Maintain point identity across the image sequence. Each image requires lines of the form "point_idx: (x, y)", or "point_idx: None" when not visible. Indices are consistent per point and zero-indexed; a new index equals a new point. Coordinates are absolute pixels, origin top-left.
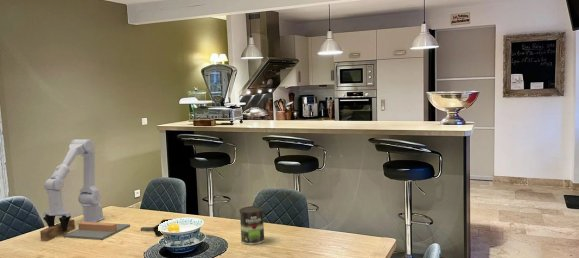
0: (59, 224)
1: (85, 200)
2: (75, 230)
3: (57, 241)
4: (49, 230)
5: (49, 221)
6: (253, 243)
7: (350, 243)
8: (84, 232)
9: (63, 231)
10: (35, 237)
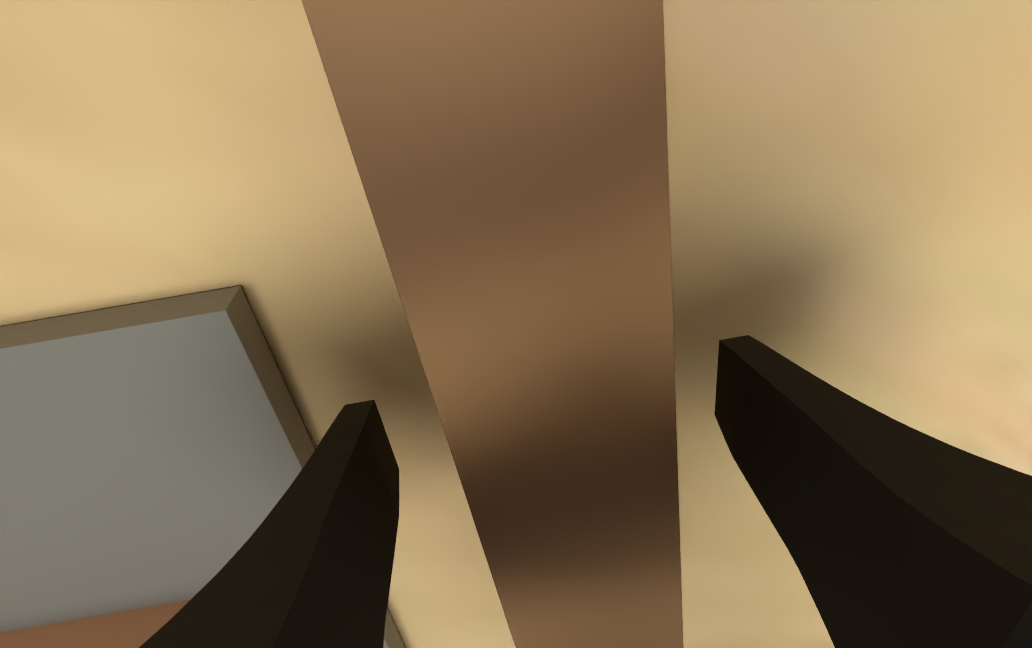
0: (571, 542)
1: None
2: None
3: (16, 5)
4: (338, 96)
5: (872, 522)
6: None
7: None
8: (7, 540)
9: (348, 404)
10: (946, 34)
